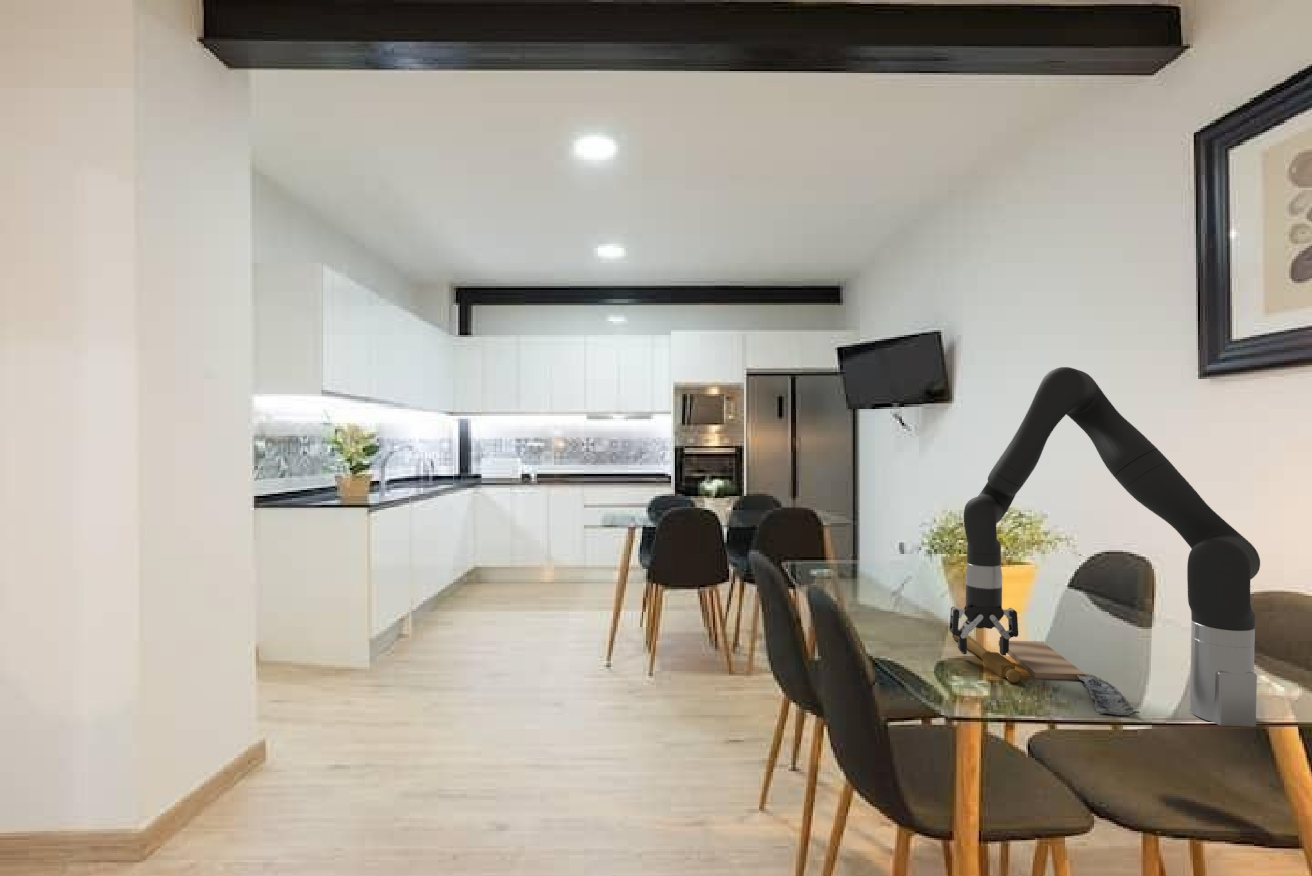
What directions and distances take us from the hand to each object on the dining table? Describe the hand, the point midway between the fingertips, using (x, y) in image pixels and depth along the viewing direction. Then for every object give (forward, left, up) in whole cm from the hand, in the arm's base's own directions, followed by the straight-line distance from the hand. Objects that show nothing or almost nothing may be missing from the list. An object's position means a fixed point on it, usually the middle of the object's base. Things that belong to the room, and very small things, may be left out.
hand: (983, 653), depth 166 cm
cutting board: (0, -12, -1) cm, 12 cm away
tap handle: (0, 0, -2) cm, 2 cm away
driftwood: (-20, -16, -2) cm, 26 cm away
